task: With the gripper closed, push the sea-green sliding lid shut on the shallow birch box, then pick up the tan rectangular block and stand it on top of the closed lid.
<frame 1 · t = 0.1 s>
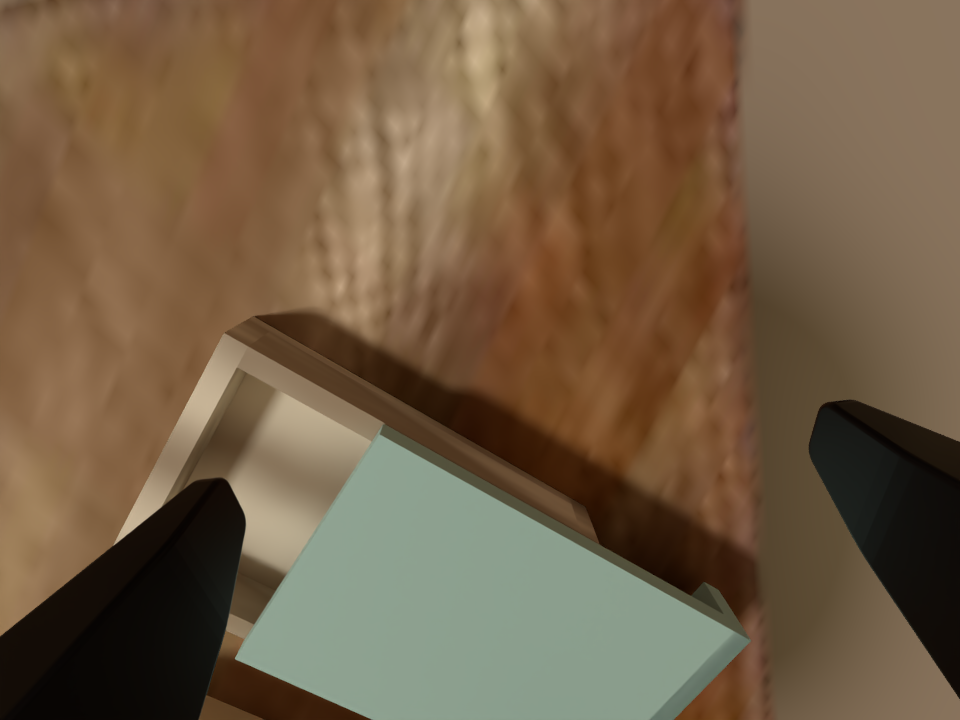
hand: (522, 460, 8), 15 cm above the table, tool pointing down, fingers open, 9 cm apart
box: (362, 519, 26), on the table
lid: (493, 622, 25), point 2 cm above the table, slide at 7.0 cm
tan rectangular block: (189, 715, 30), on the table
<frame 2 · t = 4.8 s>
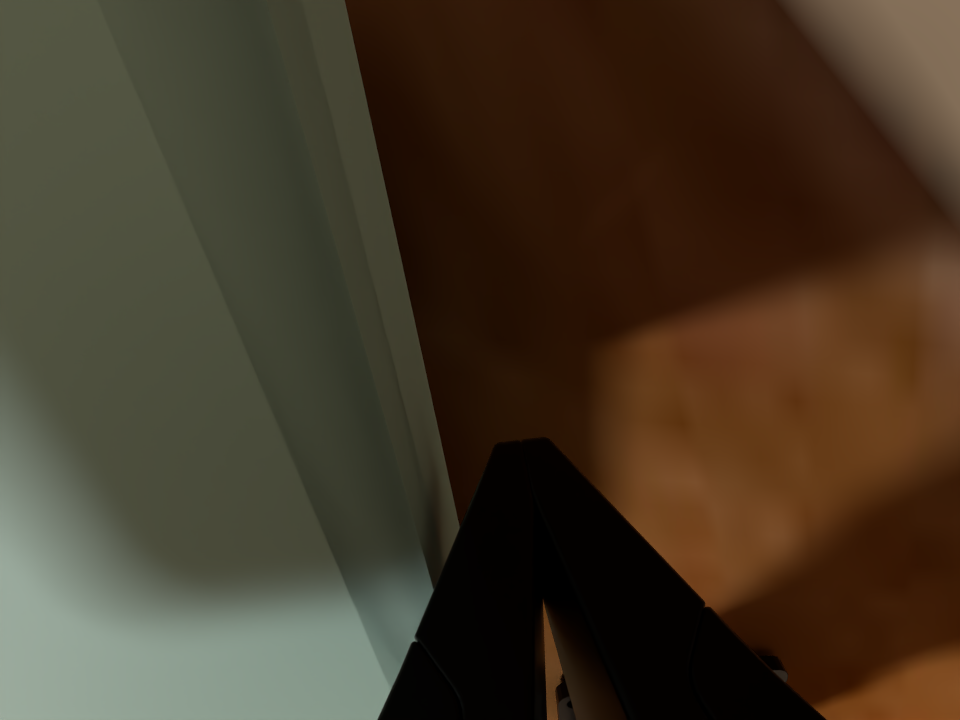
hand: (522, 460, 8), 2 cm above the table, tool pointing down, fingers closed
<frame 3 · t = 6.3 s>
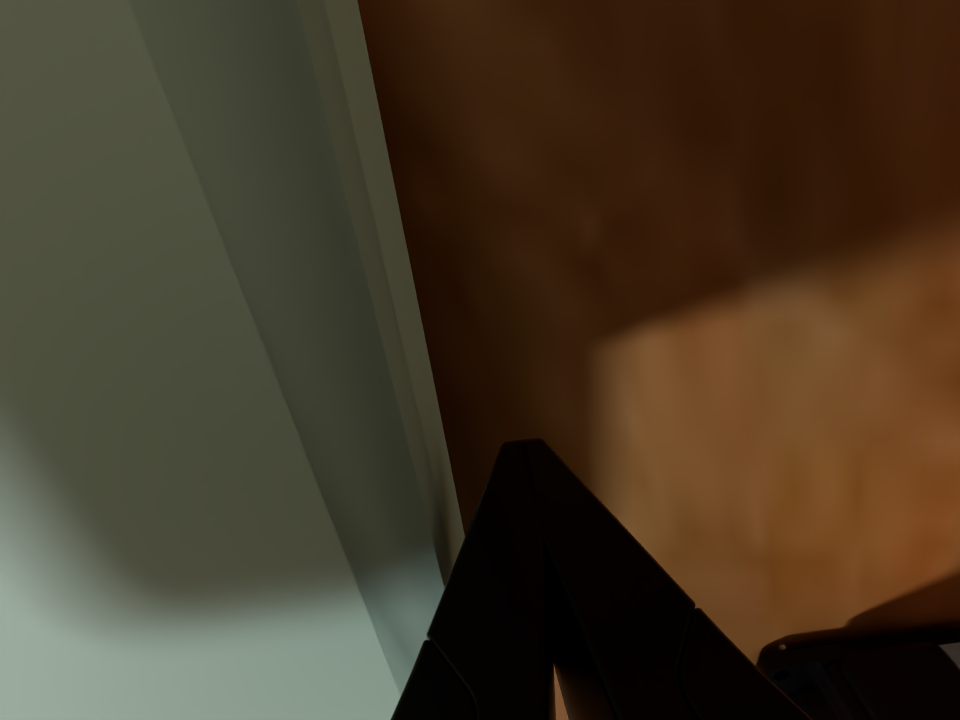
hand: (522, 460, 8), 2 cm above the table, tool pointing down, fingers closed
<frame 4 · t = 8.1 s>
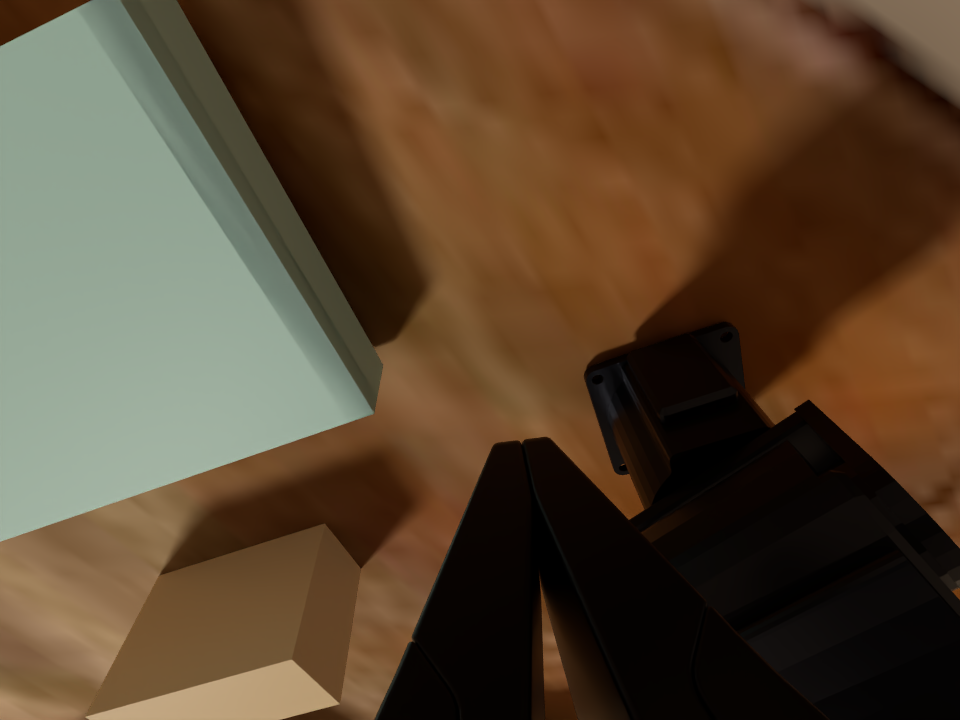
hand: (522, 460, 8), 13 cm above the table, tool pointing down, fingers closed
lid: (35, 332, 18), point 2 cm above the table, slide at 0.0 cm
tan rectangular block: (261, 570, 29), on the table
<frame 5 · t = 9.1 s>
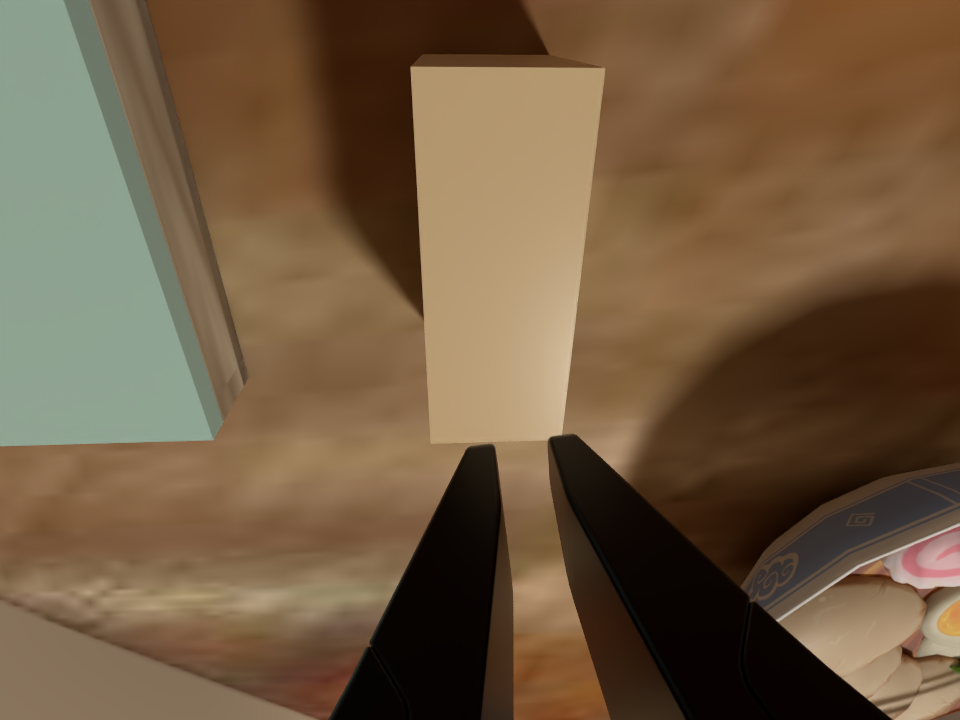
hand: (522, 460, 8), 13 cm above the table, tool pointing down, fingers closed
ramen bowl: (856, 533, 31), on the table
tan rectangular block: (484, 211, 19), on the table
when the fingers open (7 cm above the table, at t = 15.5 s): tan rectangular block drops 1 cm, resting on lid.
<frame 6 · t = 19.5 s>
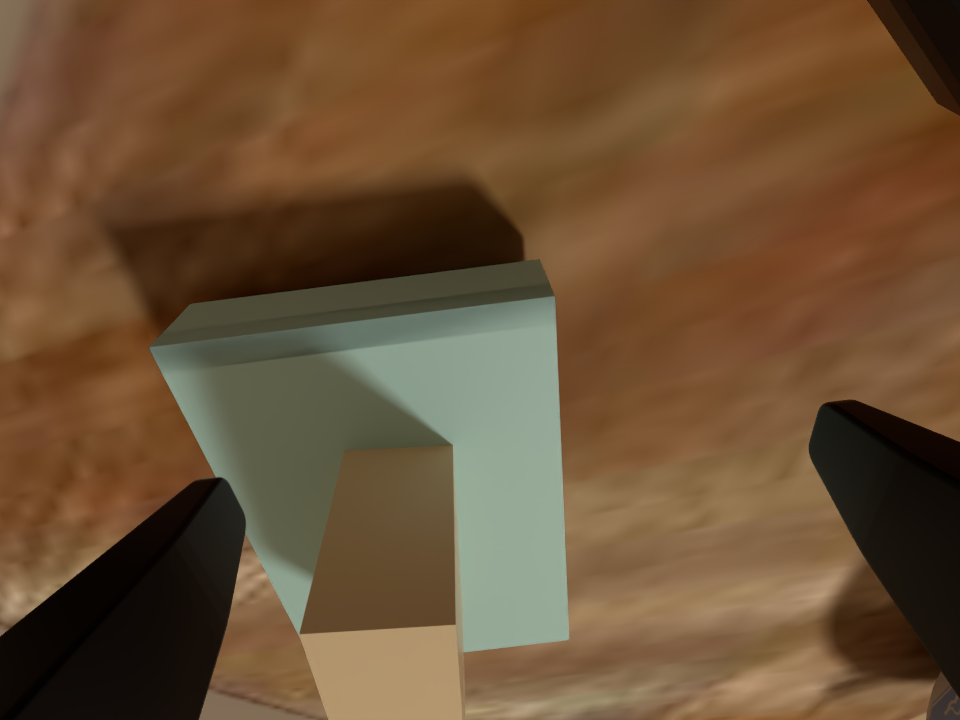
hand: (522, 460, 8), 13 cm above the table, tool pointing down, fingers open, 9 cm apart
lid: (409, 498, 23), point 2 cm above the table, slide at 0.0 cm, touching tan rectangular block
tan rectangular block: (410, 538, 22), point 4 cm above the table, touching lid
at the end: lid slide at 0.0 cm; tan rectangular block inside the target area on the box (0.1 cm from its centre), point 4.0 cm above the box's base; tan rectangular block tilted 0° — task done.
